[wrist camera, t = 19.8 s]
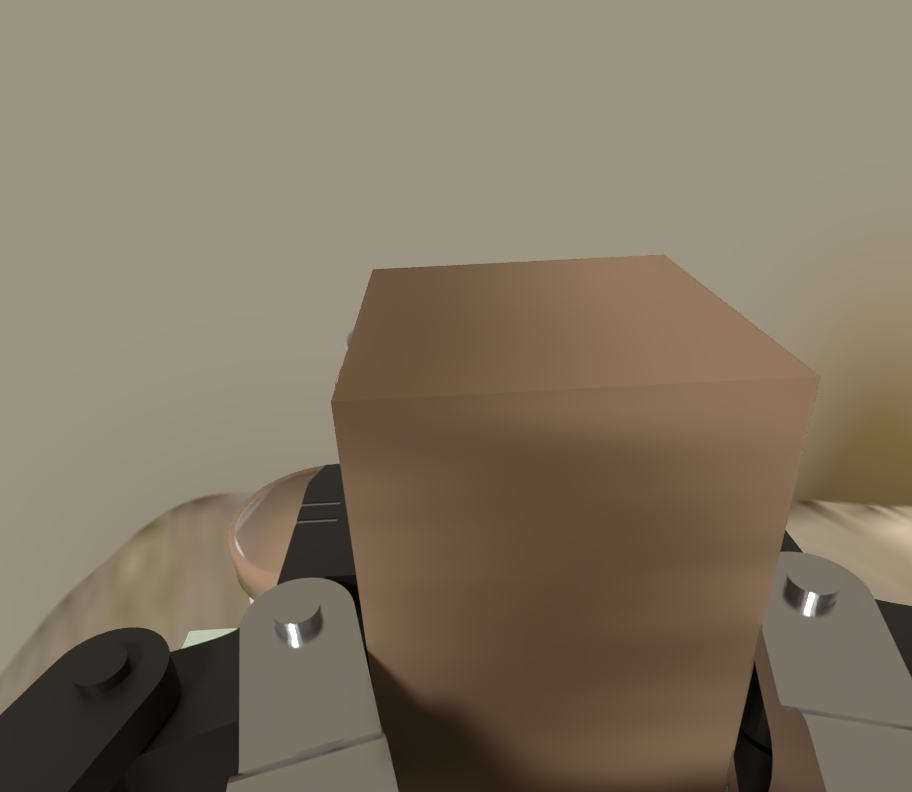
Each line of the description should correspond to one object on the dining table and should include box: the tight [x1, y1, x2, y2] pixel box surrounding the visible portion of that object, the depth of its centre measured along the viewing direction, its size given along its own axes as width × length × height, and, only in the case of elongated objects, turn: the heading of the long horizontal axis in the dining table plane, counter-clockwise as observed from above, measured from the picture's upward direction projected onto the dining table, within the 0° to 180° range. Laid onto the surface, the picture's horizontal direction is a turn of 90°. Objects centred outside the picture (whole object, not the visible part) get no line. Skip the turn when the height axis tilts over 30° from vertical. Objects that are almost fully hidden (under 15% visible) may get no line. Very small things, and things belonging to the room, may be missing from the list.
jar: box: [228, 466, 324, 604], centre depth 18 cm, size 5×5×10 cm
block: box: [331, 255, 820, 792], centre depth 9 cm, size 4×4×10 cm
